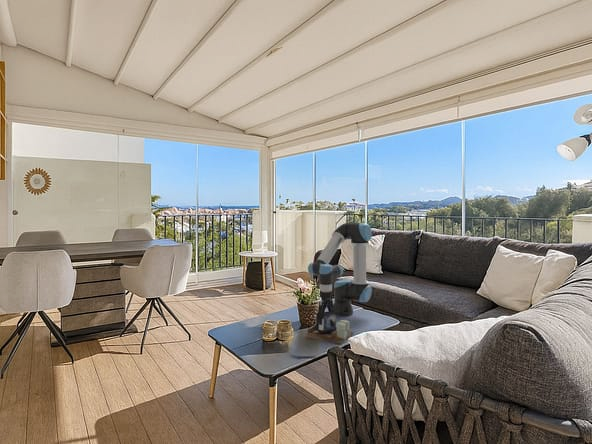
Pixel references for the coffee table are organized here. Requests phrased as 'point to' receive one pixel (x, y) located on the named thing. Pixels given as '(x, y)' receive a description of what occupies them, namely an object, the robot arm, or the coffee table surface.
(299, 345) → the coffee table surface
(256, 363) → the coffee table surface
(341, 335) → the cradle
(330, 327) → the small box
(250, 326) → the coffee table surface
